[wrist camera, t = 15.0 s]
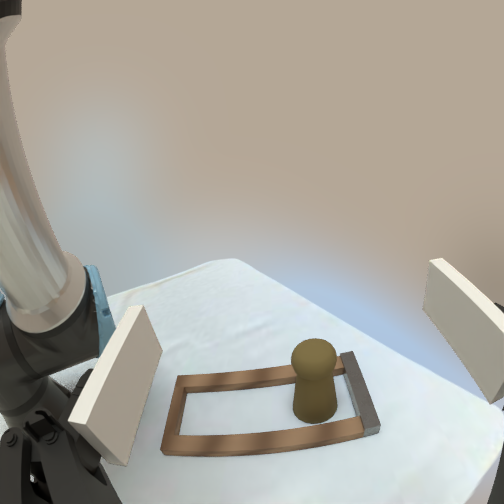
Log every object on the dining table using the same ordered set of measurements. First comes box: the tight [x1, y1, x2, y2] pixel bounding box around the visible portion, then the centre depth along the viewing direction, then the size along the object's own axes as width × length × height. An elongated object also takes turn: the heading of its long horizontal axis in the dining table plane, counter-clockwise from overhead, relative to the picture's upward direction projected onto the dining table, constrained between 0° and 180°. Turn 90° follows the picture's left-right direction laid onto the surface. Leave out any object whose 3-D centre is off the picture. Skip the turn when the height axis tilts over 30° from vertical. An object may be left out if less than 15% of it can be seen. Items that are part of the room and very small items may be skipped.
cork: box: [291, 338, 337, 424], centre depth 32 cm, size 6×6×11 cm
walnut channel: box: [160, 356, 364, 456], centre depth 35 cm, size 25×14×2 cm, turn 91°
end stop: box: [340, 351, 381, 437], centre depth 34 cm, size 2×14×2 cm, turn 1°
